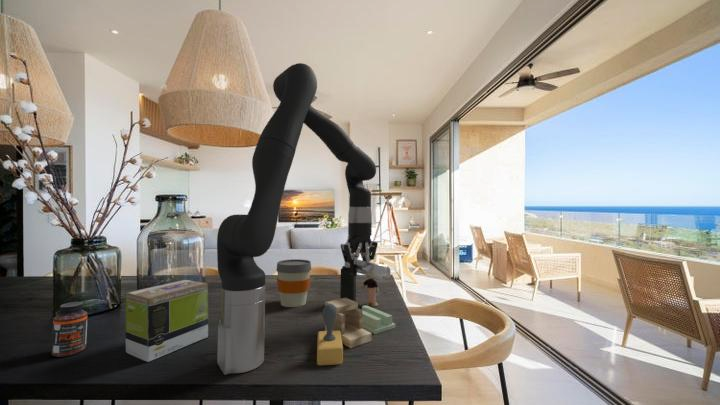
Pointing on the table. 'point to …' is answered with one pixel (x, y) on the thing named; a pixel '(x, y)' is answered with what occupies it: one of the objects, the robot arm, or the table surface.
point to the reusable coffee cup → (293, 281)
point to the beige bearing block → (349, 323)
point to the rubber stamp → (329, 340)
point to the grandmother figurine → (371, 291)
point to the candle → (347, 282)
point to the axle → (373, 269)
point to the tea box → (165, 318)
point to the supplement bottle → (69, 330)
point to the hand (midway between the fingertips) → (359, 274)
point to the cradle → (376, 320)
